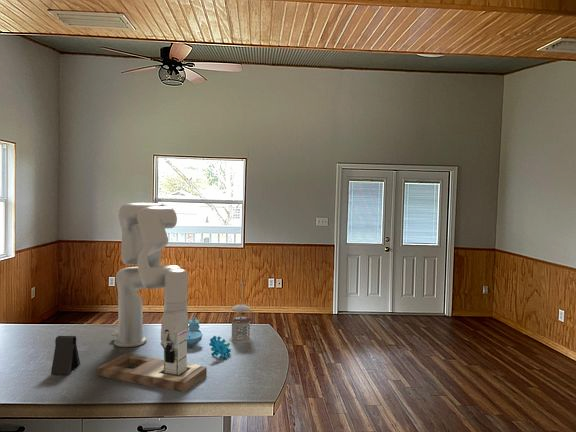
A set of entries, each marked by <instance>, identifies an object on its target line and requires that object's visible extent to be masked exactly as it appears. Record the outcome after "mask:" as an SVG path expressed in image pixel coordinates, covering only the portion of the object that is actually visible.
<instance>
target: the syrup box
mask: <svg viewBox="0 0 576 432" xmlns="http://www.w3.org/2000/svg"><path fill="white" fill-rule="evenodd" d="M168 341H171V339H168ZM168 345H169V346H170V347H171V343H168ZM187 348H188V346H187V329H183V330H181V331H180V332H178V333H177V334H176V342H174V349H173V351H174V363H168V362H165V351H164V350H163V360H164V373H166V374H170V375H173V376H181V375H180V374H181V373H183V372H184V371H186V370H187V363H188V362H187V361H188V360H187V359H188V357H187V356H188V355H187V354H188V349H187Z"/></svg>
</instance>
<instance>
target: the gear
mask: <svg viewBox="0 0 576 432" xmlns="http://www.w3.org/2000/svg"><path fill="white" fill-rule="evenodd" d="M221 339H222V337H221V336H220V335H219V336H216V335H213V336H212V338H210V339H209V341H210V342H209V346H210V347H211V348H210V351H211V352H212V353H211V356H212V357H213V356H216V357H217V356H219V359H221V360H222V359H225V360H226V359H228V358H229V357H230V356H231V351H232V350H231V348H229V347H230V345H231V342H230V341H229V342H227V343H226V340H225V338H223V339H222V340H221ZM219 354H220V355H219Z"/></svg>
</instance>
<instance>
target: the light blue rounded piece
mask: <svg viewBox="0 0 576 432" xmlns="http://www.w3.org/2000/svg"><path fill="white" fill-rule="evenodd" d="M199 323H200V320H198V319H197V317H196V316H195V317H192V319H189V320H188V329H189V333H188V335H187V347H188V348H189V347H193V346H194V345H195V344H196V343H197V342H198V341H200V340H201V339H202V338H203V335H204V334H203V333H202V331H201V330H200V324H199Z"/></svg>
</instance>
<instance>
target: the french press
mask: <svg viewBox="0 0 576 432" xmlns="http://www.w3.org/2000/svg"><path fill="white" fill-rule="evenodd" d="M239 286H240V298H242V295H243V294H242V293H243V292H242V291H243V290H242V286H245V285H244V282H240V283H239ZM231 310H232V311H234V312H235V313H236V312H238V313H242V312H243V313H244V312H247V314H250V317H251V318H250V317H249V316H248V315H244V314H243V315H242V314H240V315H234V316H233V317H232V320H231V337H230V338H229V340H228V341H229V343H234V344H246V343H249V342H250V343H251V342H252V341H253V339H252V338H251V335H250V333H251V332H250V329H251V327H252V326H253V324H254V321H255V319H253V316H255V314H254V312H253V311H252V310H251V307H250V306H248V305H246V304H242V303H240V304H236V305H234V306H233V307H231ZM250 319H251V320H250ZM251 323H252V324H251Z"/></svg>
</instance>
